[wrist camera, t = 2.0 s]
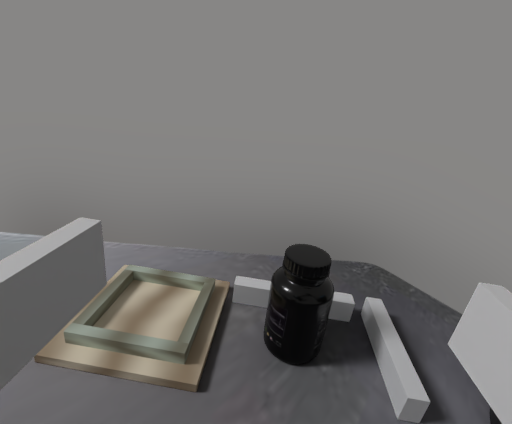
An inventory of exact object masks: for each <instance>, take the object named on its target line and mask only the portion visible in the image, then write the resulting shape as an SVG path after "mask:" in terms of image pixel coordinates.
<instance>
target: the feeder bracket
mask: <svg viewBox="0 0 512 424" xmlns="http://www.w3.org/2000/svg"><path fill="white" fill-rule="evenodd" d="M270 285H271V281H266V280H260V279H254V278H248V277H241V276H236V280H235V283H234V290H233V300H232V302H233V303H239V304H245V305H251V306H257V307H263V308H267V306H268V299H269V292H270ZM354 306H355V303H354V300H353V297H352V295H351V294H345V293H339V292H334V297H333V301H332V305H331V309H330V313H329V317H328V319H334V320H340V321H346V322H349V321H350V318H351V315H352V312H353V309H354ZM361 317H362V320H363V322H364V325H365V328H366V331H367V334H368V337H369V340H370V342H371V345H372V348H373V351H374V354H375V357H376V359H377V362H378V365H379V368H380V371H381V374H382V377H383V379H384V382H385V385H386V388H387V391H388V394H389V397H390V399H391V402H392V405H393V408H394V411H395V414H396V417H397V419H398V420H404V421H409V422H414V423H420V421H421V419H422V417H423V415H424V414H425V412H426V410H427V408H428V406H429V404H430V400H429V398H428V396H427V393H426V391H425V389H424V387H423V385H422V383H421V381H420V379H419V377H418V375H417V373H416V371H415V369H414V366H413V364H412V362H411V360H410V358H409V356H408V354H407V352H406V350H405V348H404V346H403V344H402V342H401V340H400V337H399V335H398V333H397V331H396V329H395V327H394V325H393V323H392V321H391V319H390V317H389V315H388V313H387V311H386V308H385V306H384V304H383V302H382V300H381V299H376V298H370V297H366V299H365V302H364V305H363V308H362V311H361Z"/></svg>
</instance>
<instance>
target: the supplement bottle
mask: <svg viewBox="0 0 512 424" xmlns="http://www.w3.org/2000/svg"><path fill="white" fill-rule="evenodd" d="M330 266H331V258H330V255H329V254H328V253H327V252H326V251H324V250H322V249H320V248H318V247H316V246H312V245H307V244H295V245H292V246H289V247H288V248H287V249H286V251H285V256H284V260H283V265H282V267H280V268H279V269H277V270H276V271H275V273H274V274H273V276H272V280H271V285H270V292H269V299H268V306H267V312H266V319H265V326H264V341H265V344H266V346H267V348H268V350H269V351H270V352H271V353H272V354H273V355H274V356H275V357H277V358H278V359H280V360H282V361H284V362H286V363H290V364H304V363H307V362H310V361H311V360H313V359H314V358H315V357H316V356H317V355H318V353H319V351H320V348H321V344H322V341H323V337H324V333H325V329H326V325H327V321H328V317H329V313H330V309H331V305H332V301H333V297H334V287H333V284H332V281H331V280H330V278H329V274H330Z"/></svg>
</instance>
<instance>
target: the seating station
mask: <svg viewBox="0 0 512 424" xmlns="http://www.w3.org/2000/svg"><path fill="white" fill-rule="evenodd" d="M229 286H230V282H226V281H220V280H215V279H214V278H208V277H202V276H196V275H189V274H183V273H177V272H171V271H165V270H159V269H153V268H147V267H141V266H135V265H124V266H123V267H122V268H121V269H120V270H119V271H118V272H117V273H116V274H115V275H114V276H113V277H112V278H111V279H110V280H109V281H108V282H107V285H106V286H105V287H104V288H103V289H102V290H101V291H100V292H99V293H98V294H97V295H96V296H95V297H94V298H93V299H92V300H91V301H90V302H89V303H88V304H87V305H86V306H85V307H84V308H83V309H82V310H81V311H80V312H79V313H78V314H77V315H76V316H75V317H74V318H73V319H72V320H71V321H70V322H69V323H68V324H67V325H66V326H65V327H64V328H63V329H62V330H61V331H60V332H59V333H58V334H56V335H55V336H54V337H53V338H52V339H51V340H50V341H49V342H48V343H47V344H46V345H45V346H44V347H43V348H42V349H41V350H40V351H39V352H38V353H37V354H36V355H35V356H34V358H35V362H38V363H43V364H48V365H54V366H59V367H64V368H69V369H75V370H80V371H85V372H91V373H96V374H101V375H107V376H112V377H117V378H123V379H128V380H133V381H139V382H144V383H149V384H154V385H160V386H165V387H170V388H176V389H181V390H186V391H192V392H196V391H197V388H198V385H199V382H200V379H201V376H202V373H203V369H204V366H205V363H206V360H207V357H208V354H209V350H210V347H211V344H212V341H213V338H214V335H215V331H216V328H217V325H218V322H219V319H220V316H221V312H222V309H223V306H224V303H225V300H226V297H227V293H228V290H229Z"/></svg>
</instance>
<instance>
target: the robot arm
mask: <svg viewBox="0 0 512 424" xmlns="http://www.w3.org/2000/svg"><path fill="white" fill-rule="evenodd" d="M106 285H107V282H106V271H105V259H104V248H103V236H102V225H101V221H100V220H93V219H87V218H79V219H77V220H75V221H73V222H71V223H69V224H67V225H65V226H64V227H62V228H60V229H58V230H56V231H54V232H53V233H51V234H49V235H47V236H45V237H43V238H41V239H40V240H38V241H36V242H34V243H32V244H30V245H28V246H27V247H25V248H23V249H21V250H19V251H17V252H15V253H14V254H12V255H10V256H8V257H6V258H4V259H3V260H1V261H0V390H1V389H2V388H3V387H4V386H5V385H6V384H7V383H8V382H9V381H10V380H11V379H12V378H13V377H14V376H15V375H16V374H17V373H18V372H19V371H20V370H21V369H22V368H23V367H24V366H25V365H26V364H27V363H28V362H29V361H30V360H31V359H32V358H33V357H34V356H35V355H36V354H37V353H38V352H39V351H40V350H41V349H42V348H43V347H44V346H45V345H46V344H47V343H48V342H49V341H50V340H51V339H52V338H53V337H54V336H55V335H56V334H58V333H59V332H60V331H61V330H62V329H63V328H64V327H65V326H66V325H67V324H68V323H69V322H70V321H71V320H72V319H73V318H74V317H75V316H76V315H77V314H78V313H79V312H80V311H81V310H82V309H83V308H84V307H85V306H86V305H87V304H88V303H89V302H90V301H91V300H92V299H93V298H94V297H95V296H96V295H97V294H98V293H99V292H100V291H101V290H102V289H103V288H104V287H105V286H106ZM448 345H449V347H450V348H451V349H452V351H453V352H454V354H455V355H456V357H457V358H458V360H459V361H460V363H461V364H462V366H463V367H464V369H465V370H466V372H467V373H468V374H469V376H470V377H471V379H472V380H473V382H474V383H475V385H476V386H477V388H478V389H479V391H480V392H481V394H482V395H483V397H484V398H485V399H486V401H487V402H488V404H489V405H490V421H491V424H512V293H511V292H510V291H508V290H507V289H506V288H505V287H503V286H499V285H493V284H487V283H481V282H479V284H478V286H477V288H476V290H475V292H474V294H473V296H472V298H471V299H470V301H469V303H468V306H467V307H466V309H465V311H464V313H463V315H462V317H461V319H460V321H459V323H458V325H457V327H456V329H455V331H454V333H453V335H452V337H451V339H450V341H449V343H448Z"/></svg>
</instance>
